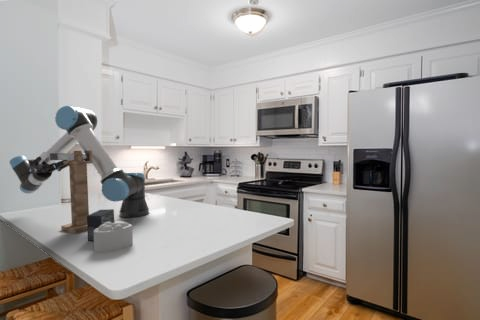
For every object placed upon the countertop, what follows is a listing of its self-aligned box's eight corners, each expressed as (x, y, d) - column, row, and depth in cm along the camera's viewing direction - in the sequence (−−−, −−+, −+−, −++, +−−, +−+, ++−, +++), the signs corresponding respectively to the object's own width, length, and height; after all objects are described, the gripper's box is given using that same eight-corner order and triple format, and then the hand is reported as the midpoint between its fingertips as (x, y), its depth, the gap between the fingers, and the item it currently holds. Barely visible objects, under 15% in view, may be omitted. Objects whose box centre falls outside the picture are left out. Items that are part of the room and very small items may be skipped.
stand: (60, 230, 125) (56, 150, 123) (84, 223, 135) (80, 150, 133) (77, 233, 120) (73, 150, 118) (100, 226, 129) (97, 150, 127)
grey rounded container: (136, 243, 107) (135, 221, 106) (103, 254, 96) (102, 230, 96) (120, 238, 113) (120, 217, 112) (88, 248, 102) (87, 225, 102)
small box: (100, 232, 121) (100, 209, 120) (115, 232, 120) (114, 209, 120) (86, 241, 110) (85, 215, 109) (102, 241, 110) (101, 215, 109)
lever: (49, 159, 133) (48, 153, 133) (56, 159, 136) (55, 153, 136) (81, 160, 122) (81, 153, 121) (88, 160, 124) (88, 153, 124)
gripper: (68, 178, 151) (88, 159, 142) (13, 184, 129) (33, 162, 120) (63, 166, 152) (83, 146, 143) (8, 170, 130) (28, 147, 121)
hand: (60, 153), depth 131 cm, fingers open, 13 cm apart
